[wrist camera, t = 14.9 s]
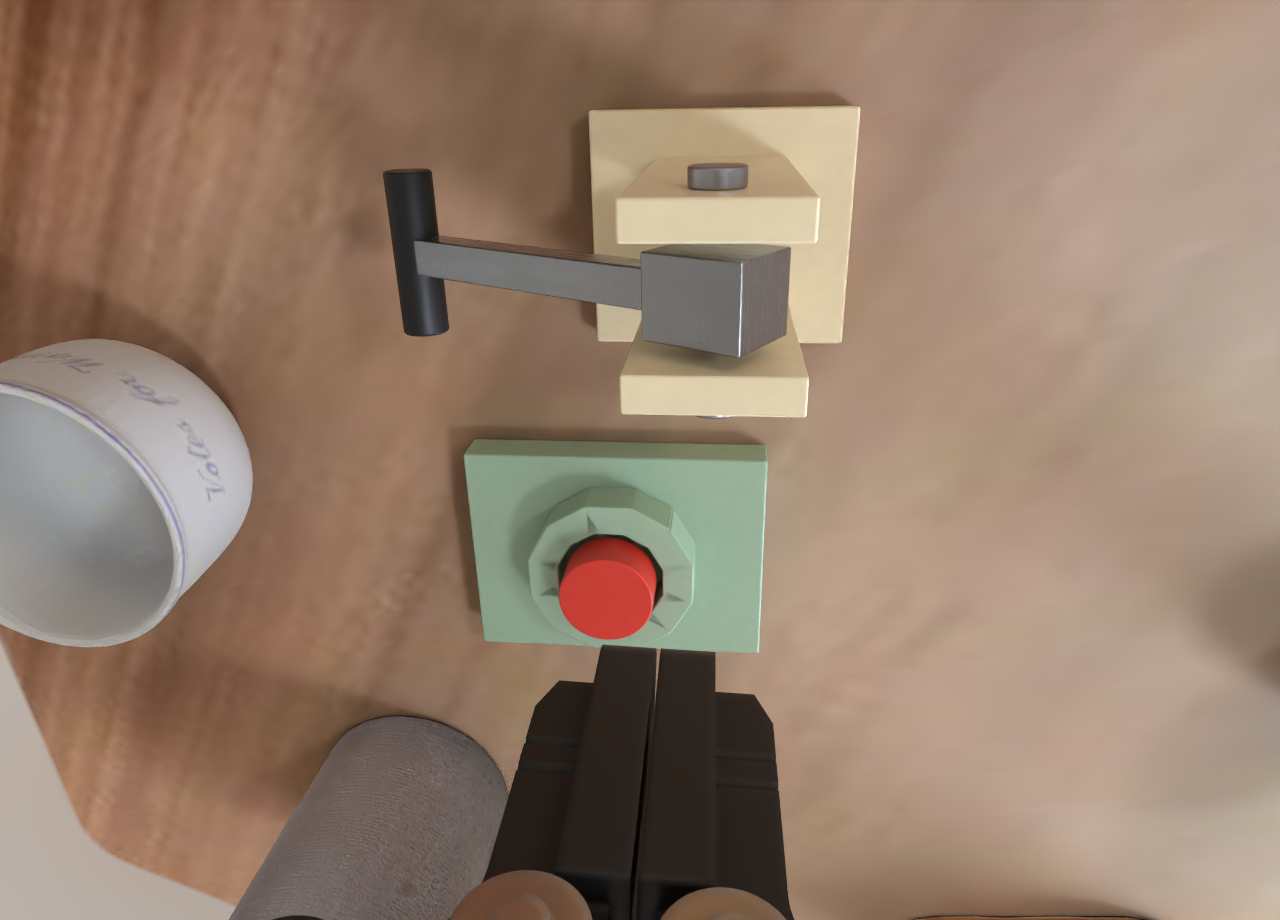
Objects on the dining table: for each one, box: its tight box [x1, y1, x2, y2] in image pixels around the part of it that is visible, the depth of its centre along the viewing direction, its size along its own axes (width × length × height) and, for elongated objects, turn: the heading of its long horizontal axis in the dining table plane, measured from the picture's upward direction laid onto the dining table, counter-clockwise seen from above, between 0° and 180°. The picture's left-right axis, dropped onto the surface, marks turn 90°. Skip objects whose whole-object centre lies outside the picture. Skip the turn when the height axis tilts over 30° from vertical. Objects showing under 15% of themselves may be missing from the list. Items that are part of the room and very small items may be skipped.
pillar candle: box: [229, 716, 509, 920], centre depth 36 cm, size 10×10×15 cm
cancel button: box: [559, 538, 657, 640], centre depth 33 cm, size 4×4×2 cm
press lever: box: [383, 169, 791, 358], centre depth 23 cm, size 13×5×2 cm, turn 91°
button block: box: [463, 439, 768, 653], centre depth 35 cm, size 12×9×4 cm
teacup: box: [0, 339, 253, 647], centre depth 33 cm, size 14×11×8 cm
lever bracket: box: [588, 105, 860, 419], centre depth 25 cm, size 9×8×13 cm
